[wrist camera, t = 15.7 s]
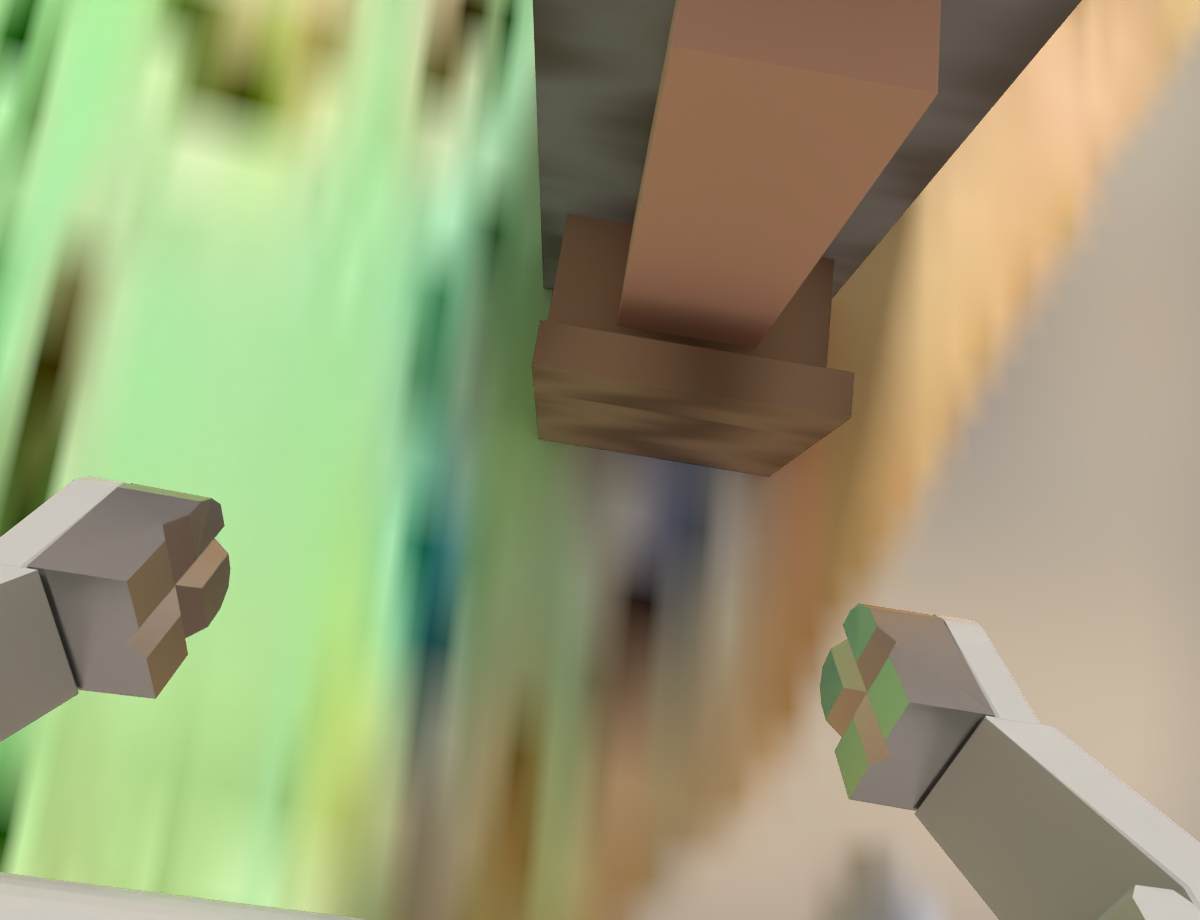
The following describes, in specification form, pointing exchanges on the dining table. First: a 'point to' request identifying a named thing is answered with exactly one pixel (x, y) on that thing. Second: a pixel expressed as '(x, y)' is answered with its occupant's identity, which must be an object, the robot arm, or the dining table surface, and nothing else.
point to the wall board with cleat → (605, 219)
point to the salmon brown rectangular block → (767, 152)
